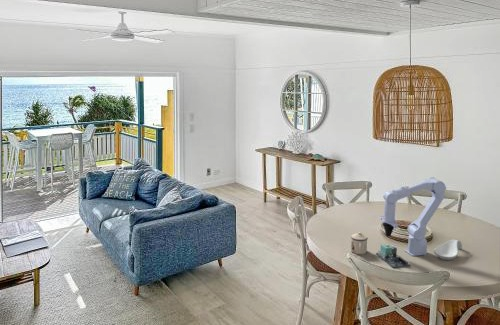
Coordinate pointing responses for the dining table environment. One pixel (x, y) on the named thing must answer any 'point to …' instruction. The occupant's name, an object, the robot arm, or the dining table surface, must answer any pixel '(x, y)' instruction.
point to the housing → (386, 249)
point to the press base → (392, 263)
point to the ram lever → (393, 254)
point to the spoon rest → (448, 249)
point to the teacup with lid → (359, 243)
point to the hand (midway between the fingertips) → (388, 236)
